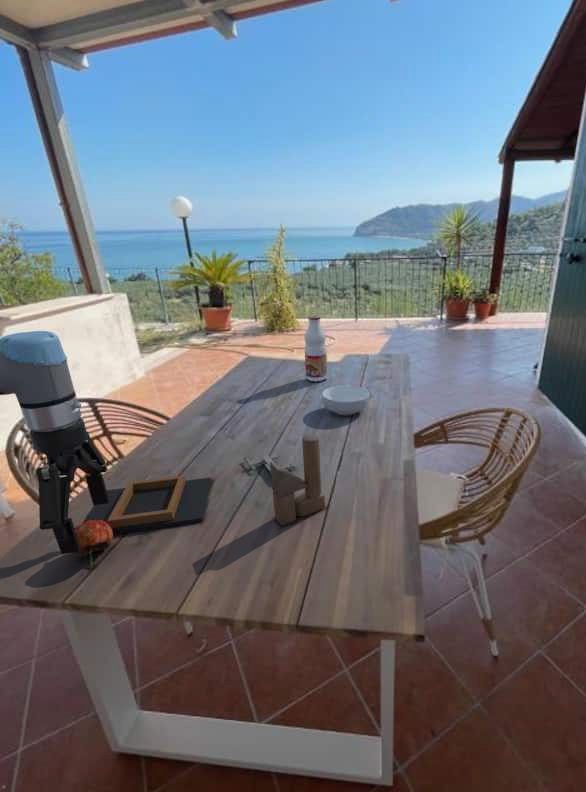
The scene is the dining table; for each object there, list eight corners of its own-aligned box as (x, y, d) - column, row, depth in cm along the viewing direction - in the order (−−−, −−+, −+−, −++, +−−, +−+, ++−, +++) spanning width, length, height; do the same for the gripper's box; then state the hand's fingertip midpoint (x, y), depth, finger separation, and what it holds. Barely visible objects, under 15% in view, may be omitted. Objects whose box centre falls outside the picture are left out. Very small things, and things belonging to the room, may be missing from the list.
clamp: (300, 468, 100) (262, 481, 94) (300, 476, 100) (263, 488, 95) (277, 445, 111) (242, 455, 106) (277, 452, 112) (243, 462, 107)
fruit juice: (330, 380, 171) (328, 317, 161) (310, 384, 167) (307, 319, 157) (322, 374, 178) (320, 313, 169) (303, 377, 175) (299, 315, 165)
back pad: (76, 540, 79) (73, 528, 78) (106, 493, 93) (103, 483, 92) (202, 521, 84) (200, 510, 83) (211, 480, 99) (209, 470, 98)
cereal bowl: (379, 410, 140) (379, 392, 137) (346, 425, 129) (345, 405, 126) (346, 398, 151) (345, 381, 148) (313, 411, 140) (312, 392, 137)
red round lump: (119, 564, 76) (120, 514, 81) (102, 558, 70) (104, 504, 74) (77, 576, 74) (80, 524, 79) (55, 571, 68) (60, 515, 73)
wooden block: (274, 517, 85) (267, 444, 79) (317, 500, 91) (314, 431, 85) (281, 527, 82) (275, 452, 76) (325, 508, 88) (322, 437, 82)
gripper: (43, 457, 55) (81, 572, 62) (107, 395, 78) (130, 484, 85) (-19, 464, 54) (28, 581, 61) (65, 398, 76) (92, 489, 84)
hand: (87, 525), depth 73 cm, fingers open, 13 cm apart
